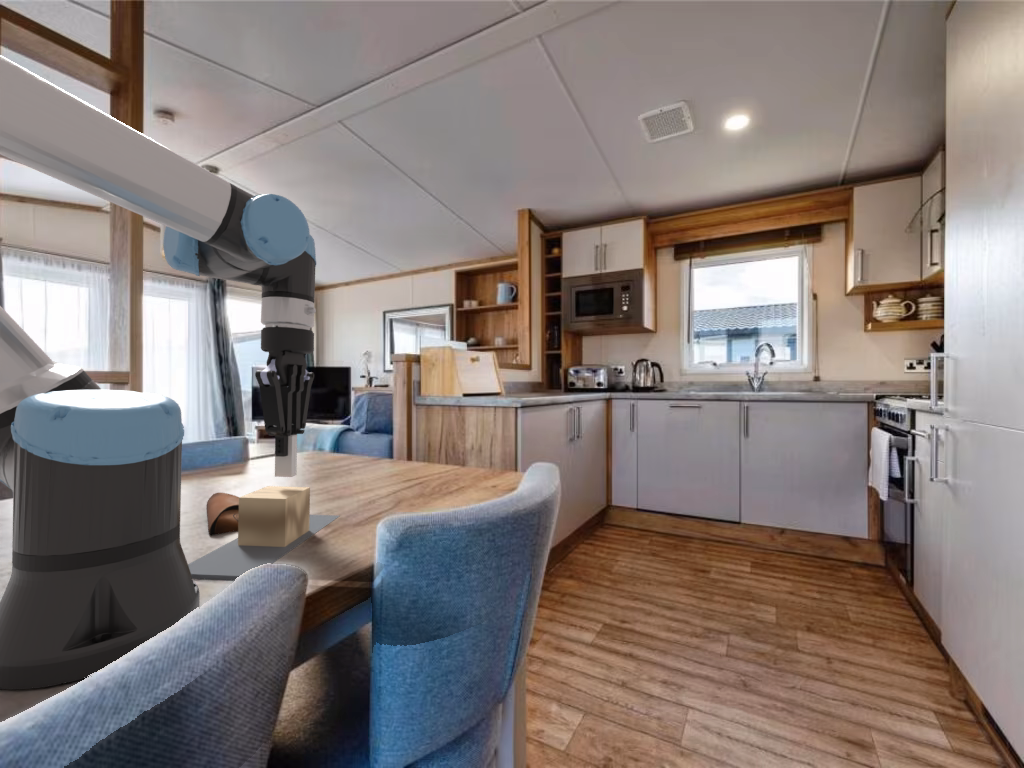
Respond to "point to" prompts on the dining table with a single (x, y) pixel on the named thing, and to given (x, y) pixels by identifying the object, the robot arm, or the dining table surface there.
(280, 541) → the maple cube
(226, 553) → the mat
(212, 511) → the sunglasses case
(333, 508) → the dining table surface
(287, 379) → the robot arm
